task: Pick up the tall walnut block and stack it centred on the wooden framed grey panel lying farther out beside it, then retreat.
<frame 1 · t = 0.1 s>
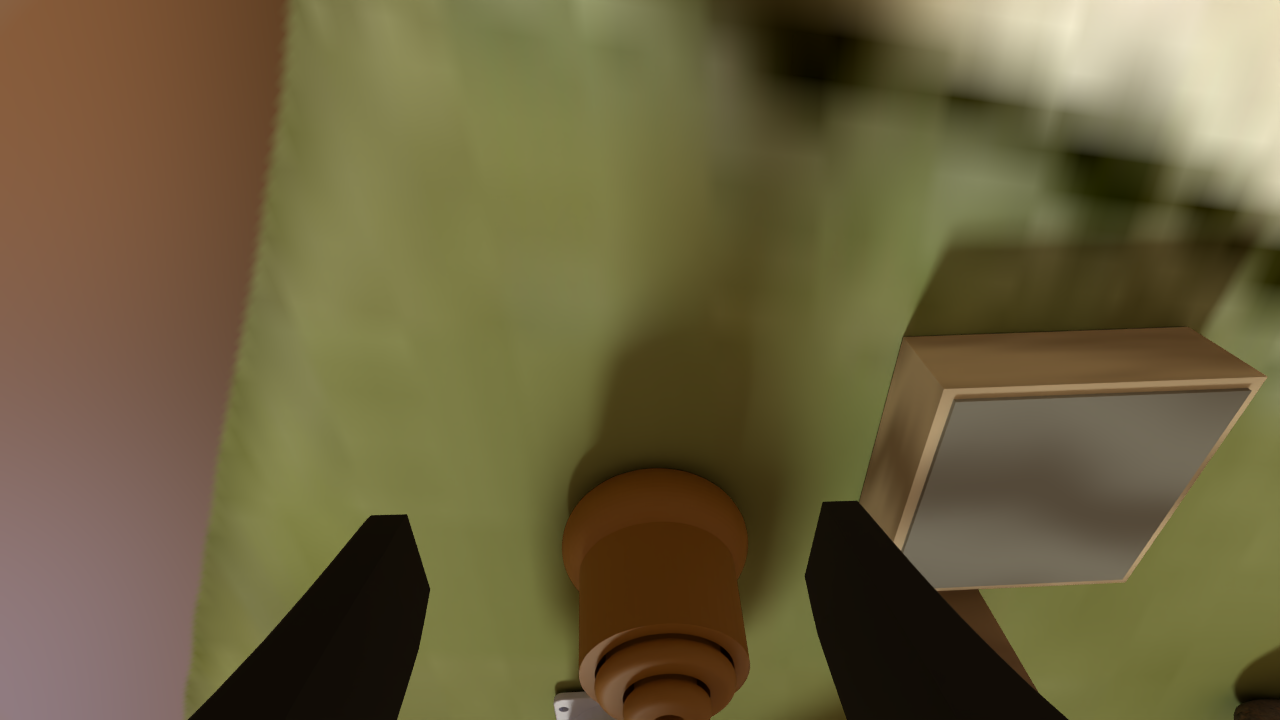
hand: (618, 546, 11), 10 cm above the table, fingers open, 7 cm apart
wooden framed grey panel: (1000, 441, 23), on the table
ornamental finial: (653, 518, 25), on the table
walnut block: (911, 603, 29), on the table
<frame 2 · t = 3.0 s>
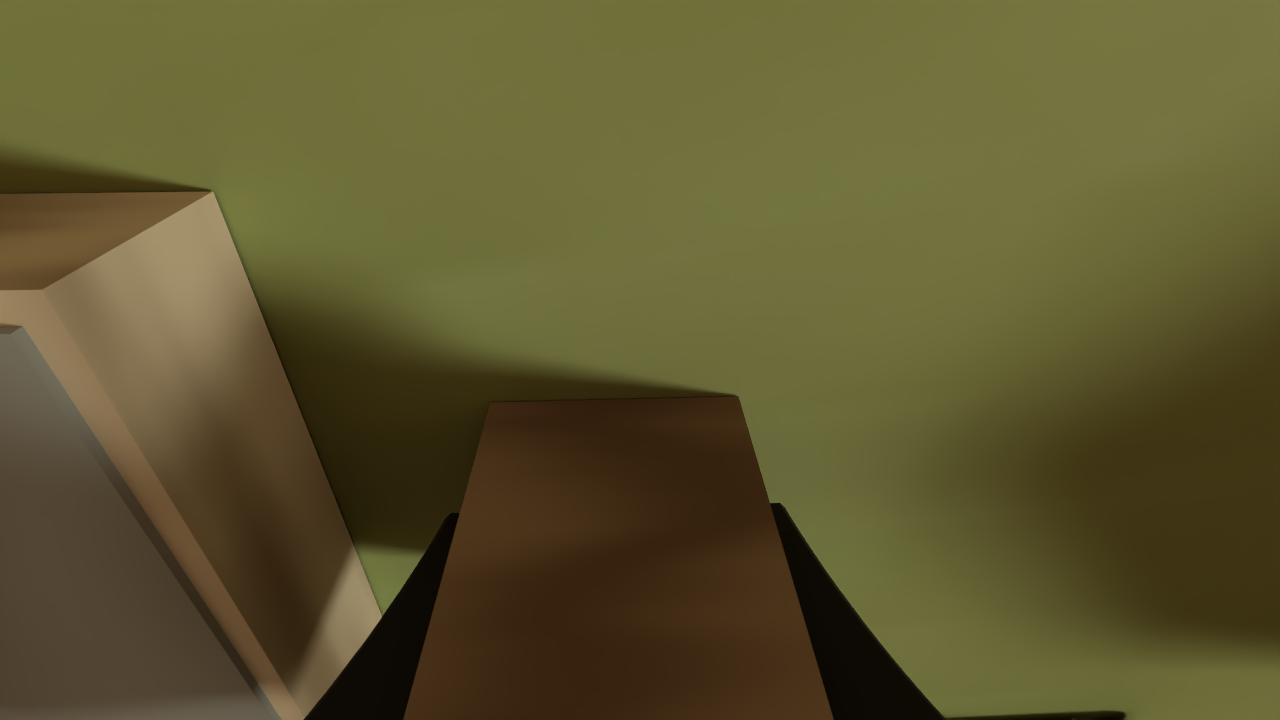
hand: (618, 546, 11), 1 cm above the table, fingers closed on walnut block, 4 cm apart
wooden framed grey panel: (39, 466, 11), on the table
walnut block: (617, 488, 12), on the table, touching gripper
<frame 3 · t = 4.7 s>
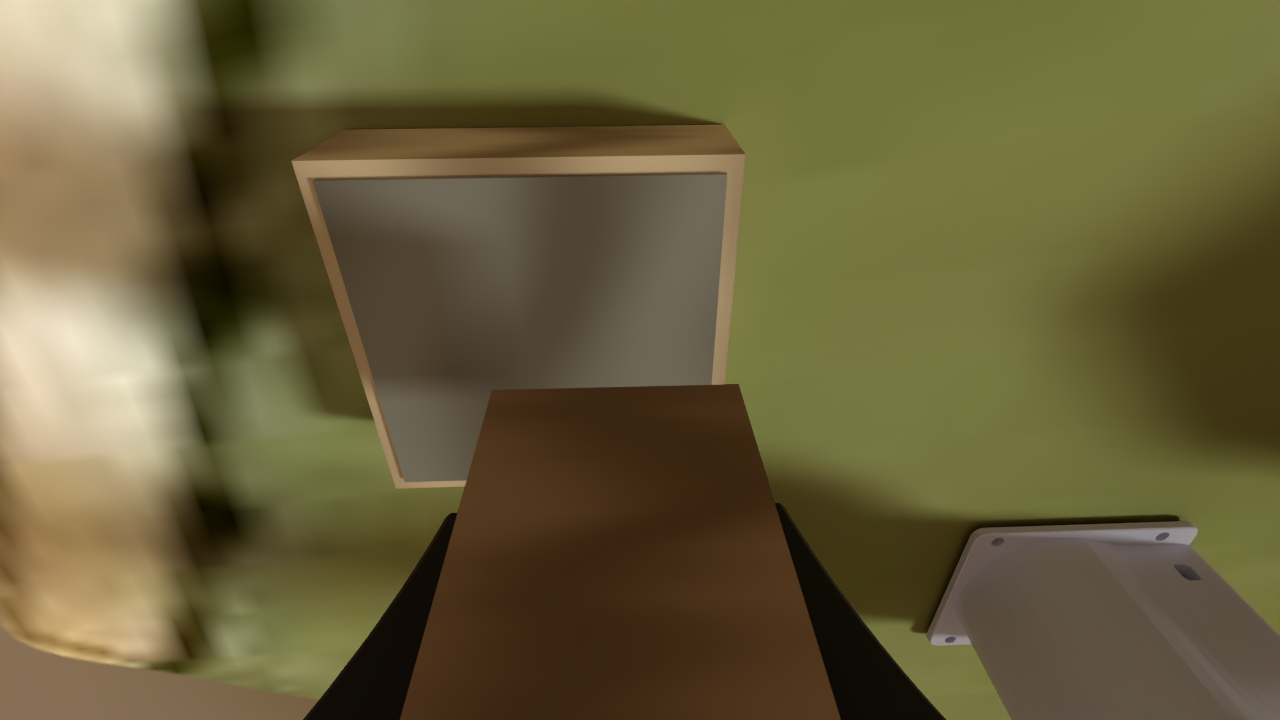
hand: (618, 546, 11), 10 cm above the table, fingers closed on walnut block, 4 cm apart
wooden framed grey panel: (551, 296, 18), on the table
walnut block: (618, 476, 12), point 8 cm above the table, touching gripper
when the fingers open (6 cm above the table, at t = 6.4 s): walnut block stays where it is, resting on wooden framed grey panel.
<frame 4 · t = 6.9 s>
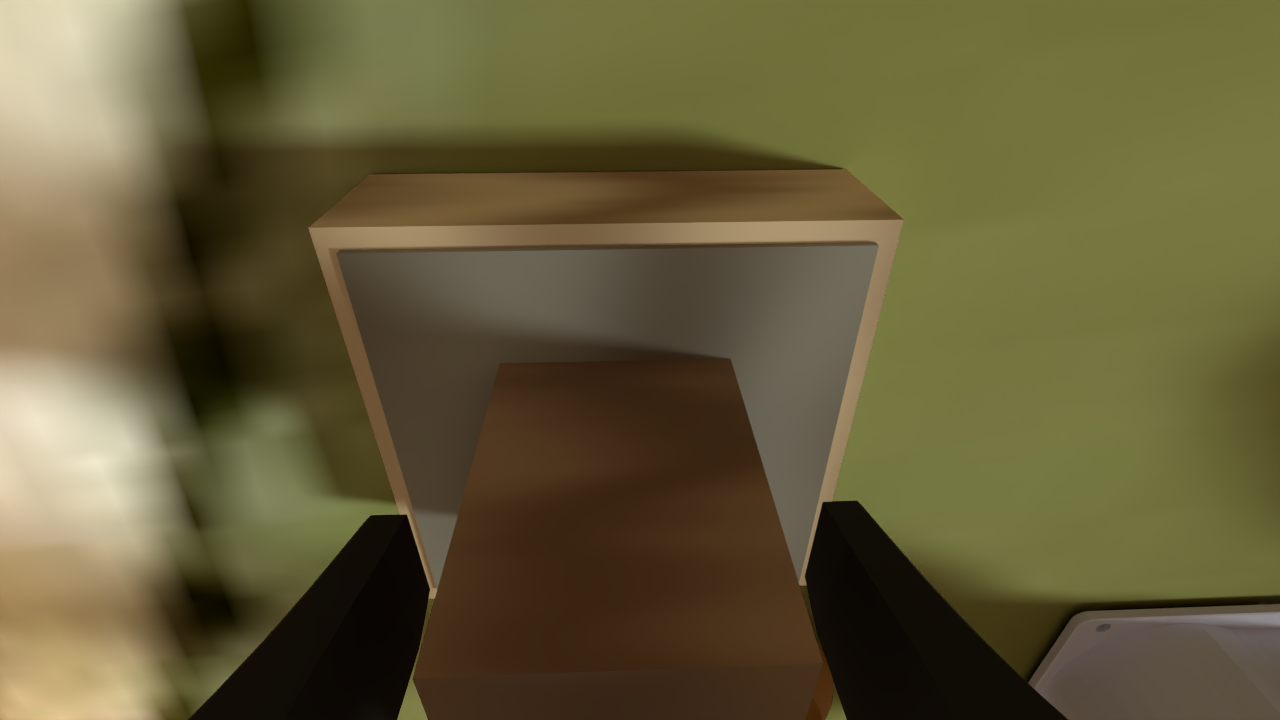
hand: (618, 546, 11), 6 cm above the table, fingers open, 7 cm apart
wooden framed grey panel: (616, 368, 15), on the table
ornamental finial: (722, 651, 23), on the table
walnut block: (617, 447, 13), point 3 cm above the table, touching wooden framed grey panel
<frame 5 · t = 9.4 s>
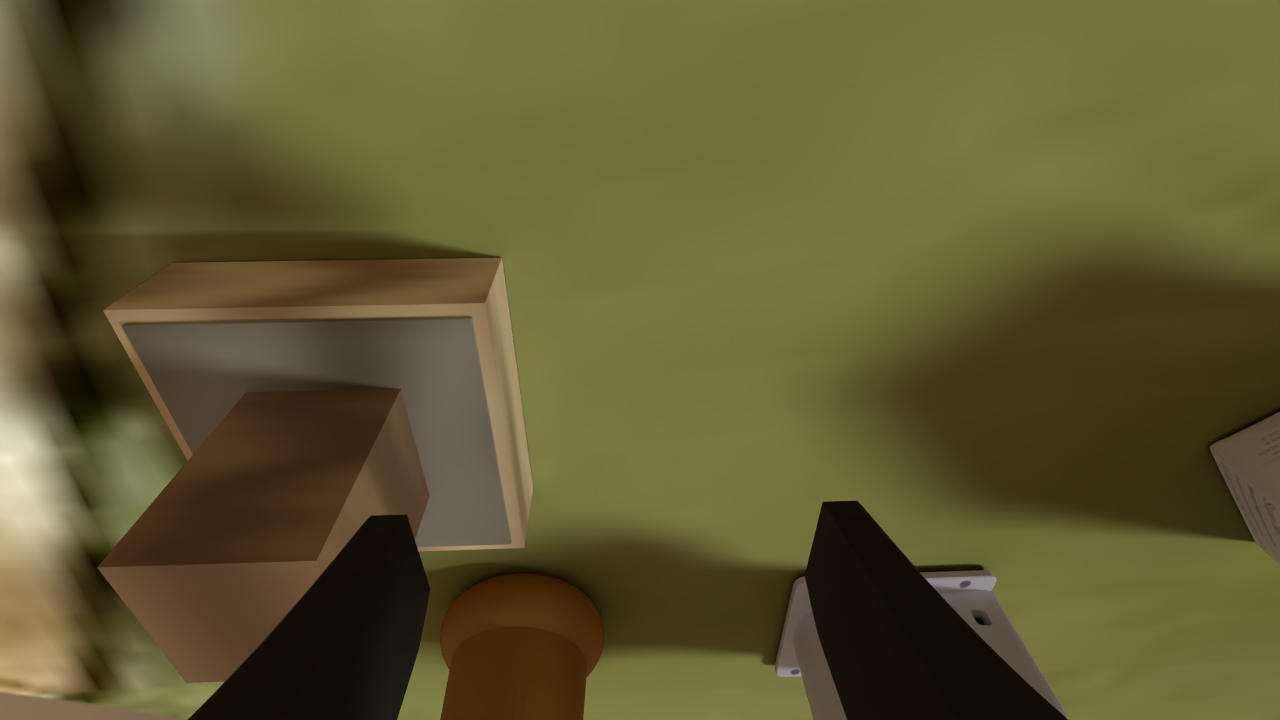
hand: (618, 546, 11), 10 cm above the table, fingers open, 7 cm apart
wooden framed grey panel: (377, 390, 21), on the table
ornamental finial: (527, 609, 29), on the table
walnut block: (344, 447, 19), point 3 cm above the table, touching wooden framed grey panel
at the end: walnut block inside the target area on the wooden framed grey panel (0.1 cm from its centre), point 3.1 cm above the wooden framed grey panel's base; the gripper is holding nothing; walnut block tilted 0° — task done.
